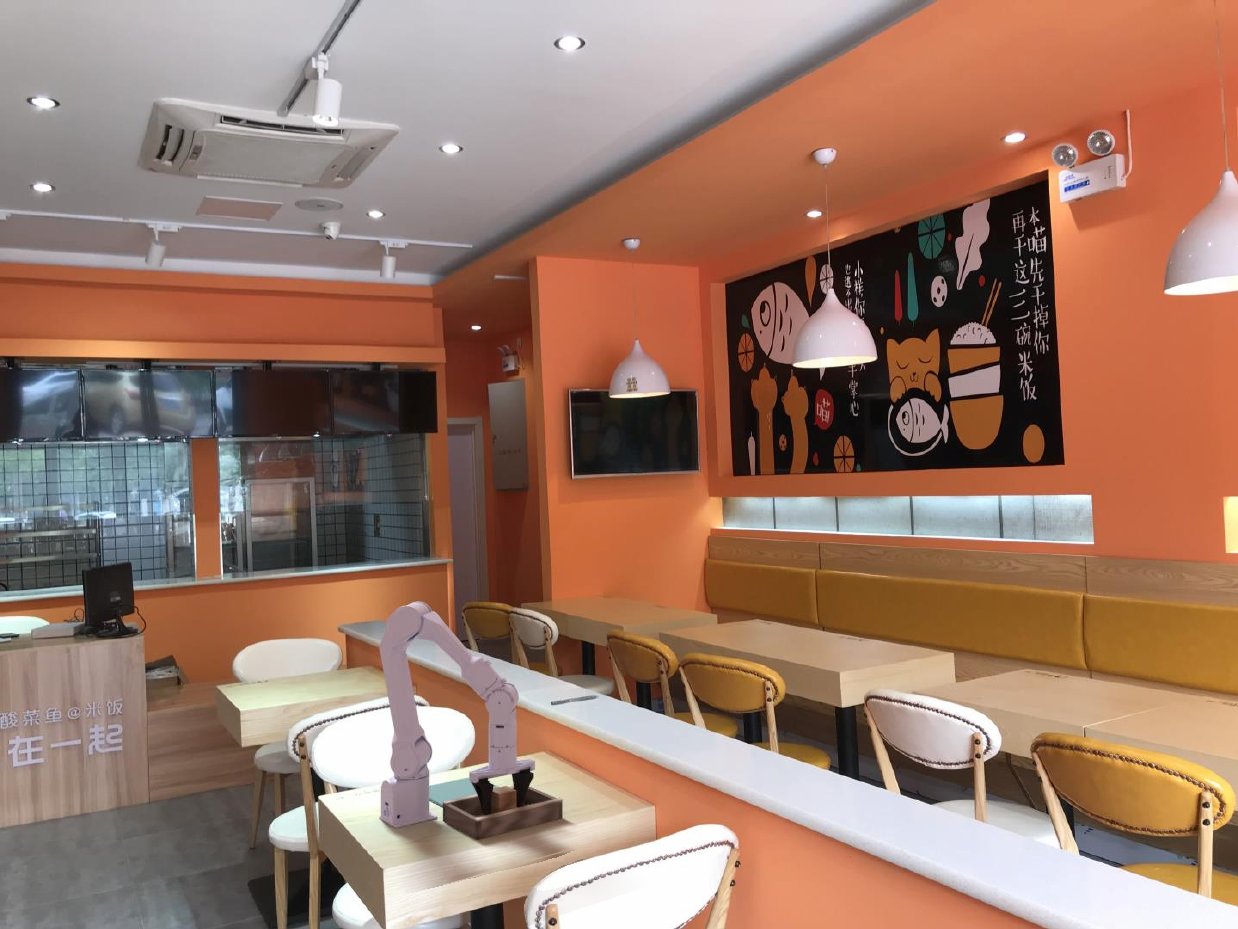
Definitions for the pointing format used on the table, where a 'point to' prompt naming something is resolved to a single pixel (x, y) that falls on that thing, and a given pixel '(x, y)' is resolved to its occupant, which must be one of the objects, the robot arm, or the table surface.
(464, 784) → the mat
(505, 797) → the walnut block
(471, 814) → the frame
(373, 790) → the table surface
